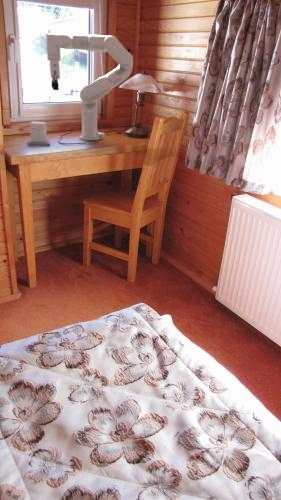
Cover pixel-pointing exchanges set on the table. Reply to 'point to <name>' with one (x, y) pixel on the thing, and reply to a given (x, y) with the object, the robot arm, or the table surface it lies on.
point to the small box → (38, 131)
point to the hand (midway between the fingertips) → (55, 89)
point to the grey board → (38, 143)
